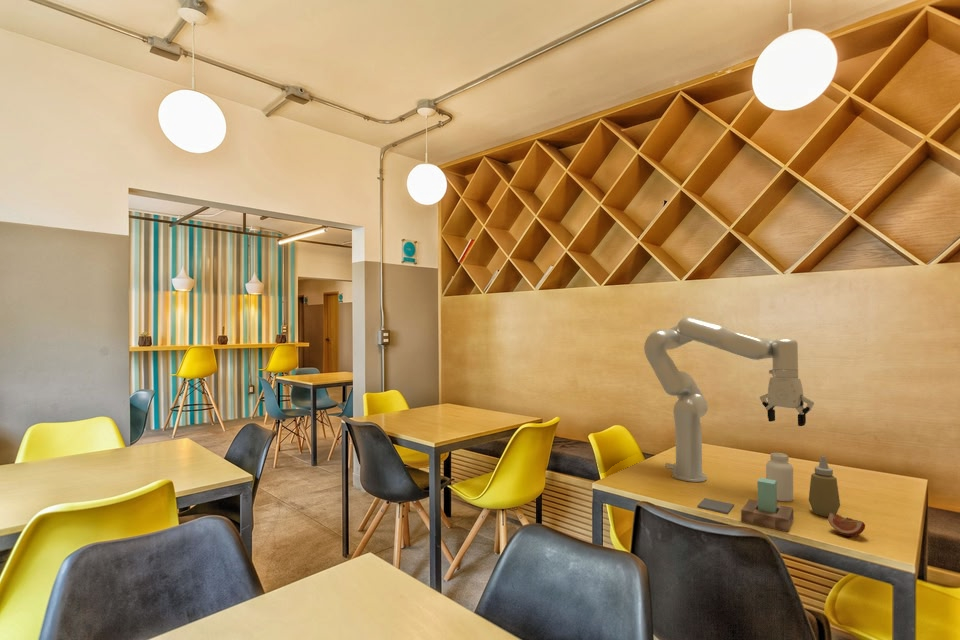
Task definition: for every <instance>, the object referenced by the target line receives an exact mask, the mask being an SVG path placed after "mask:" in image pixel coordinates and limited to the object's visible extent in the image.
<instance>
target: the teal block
mask: <svg viewBox="0 0 960 640" xmlns="http://www.w3.org/2000/svg"><path fill="white" fill-rule="evenodd" d="M757 501H758V510H762V511H766V512H771V513H776V514H777V505H778V500H777V480H771V479H766V477H765V478H764V477H759V478H758V480H757Z"/></svg>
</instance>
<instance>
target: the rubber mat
mask: <svg viewBox="0 0 960 640" xmlns="http://www.w3.org/2000/svg"><path fill="white" fill-rule="evenodd" d="M696 506H697V508H699V509H703V510H708V511H712V512H715V513H721V514H725V515H729V513H730V512H731V510H733V509H734V507H735V504H734V503H730V502H725V501H722V500H721V501H720V500H715V499H712V498H711V499H710V498H706V497H704V498H703V499H702V500H701V501H700V502H699V503H698V504H697V505H696Z"/></svg>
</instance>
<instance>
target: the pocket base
mask: <svg viewBox="0 0 960 640" xmlns="http://www.w3.org/2000/svg"><path fill="white" fill-rule="evenodd" d="M740 514H741V515H740V516H741V517H740V518H741V522H742V523H747V524H751V525H756V526H761V527H765V528H770V529H774V530H778V531H782V532H787V533H788V532H789V531H790V529H791V526H792V524H793V521H794V507H792V506H787V505H783V504H777V514H776V513H771V512H766V511H762V510H758V499H757V500H756V499H752V498H749V499H748V500H747V501H746V503H745V504H744V505H743V507H742V508H741V510H740Z"/></svg>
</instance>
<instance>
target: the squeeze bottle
mask: <svg viewBox="0 0 960 640" xmlns="http://www.w3.org/2000/svg"><path fill="white" fill-rule="evenodd" d="M808 492H809V493H808V502H809V505H810V507H811V511H812V512H813V513H814V514H816V515H818V516H821V517H826V518H827V517H828V516H829V513H832V514H836V515H838V511H839V509H840V507H841V501H840V495H839V487H838V480H837V477H835V476H834V470H833V468H831V467H829V464H828V460H827V457H826V456H822V455H821V456H820V459H819V463H818V466H815V467H814V472H813V473H811V475H810V483H809V491H808Z"/></svg>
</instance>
